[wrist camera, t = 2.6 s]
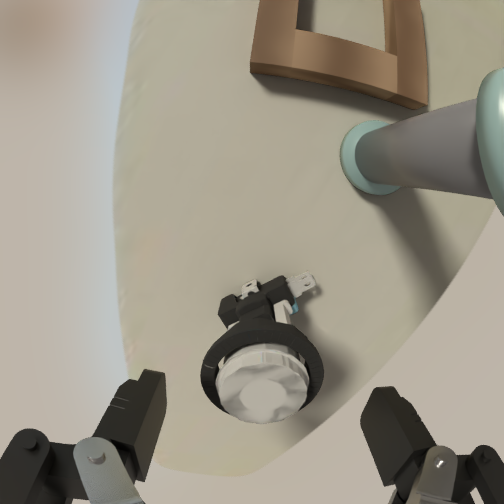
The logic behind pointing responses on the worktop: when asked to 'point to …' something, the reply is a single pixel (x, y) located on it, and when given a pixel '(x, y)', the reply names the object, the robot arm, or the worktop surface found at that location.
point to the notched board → (346, 53)
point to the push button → (262, 354)
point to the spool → (434, 149)
